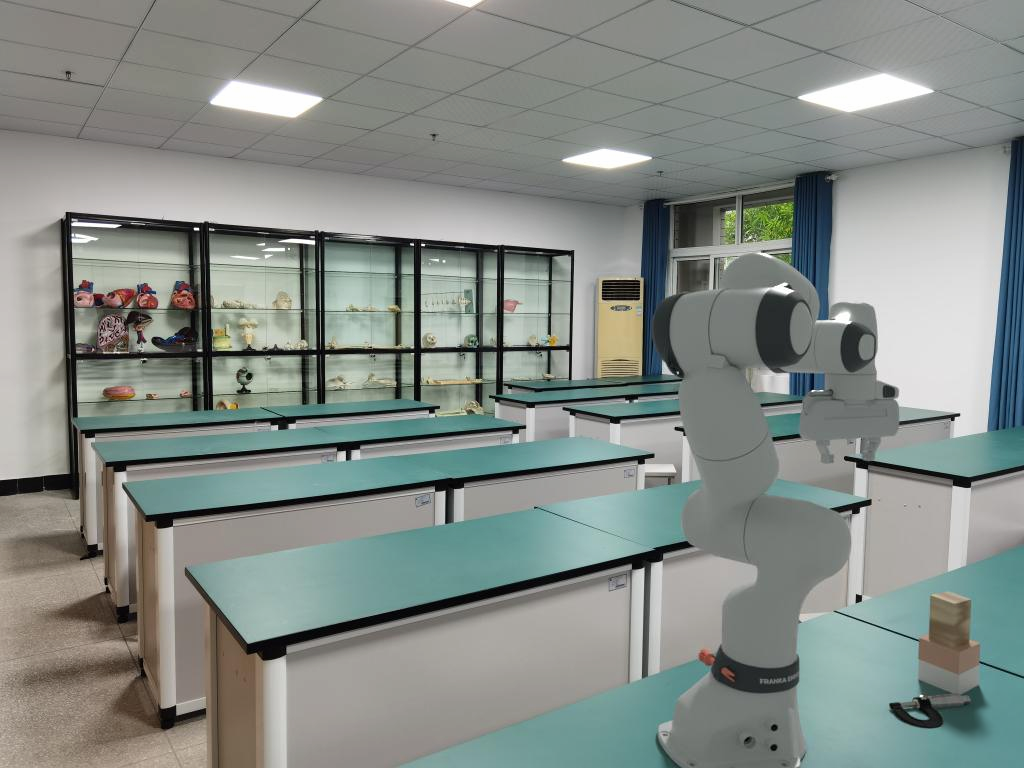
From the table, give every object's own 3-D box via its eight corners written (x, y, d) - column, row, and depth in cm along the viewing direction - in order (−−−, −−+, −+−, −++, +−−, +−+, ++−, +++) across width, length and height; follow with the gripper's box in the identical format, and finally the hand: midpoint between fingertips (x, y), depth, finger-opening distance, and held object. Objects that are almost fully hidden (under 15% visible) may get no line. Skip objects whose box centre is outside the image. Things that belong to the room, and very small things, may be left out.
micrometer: (913, 732, 114) (914, 717, 114) (883, 709, 121) (884, 694, 121) (996, 724, 117) (997, 709, 116) (962, 701, 124) (963, 687, 124)
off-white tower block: (958, 696, 125) (959, 674, 125) (918, 680, 131) (918, 659, 131) (978, 686, 129) (979, 664, 128) (938, 670, 135) (939, 649, 134)
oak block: (952, 647, 126) (954, 603, 126) (928, 637, 130) (930, 594, 130) (969, 642, 128) (971, 599, 127) (945, 633, 132) (947, 591, 131)
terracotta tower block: (958, 674, 125) (959, 652, 124) (918, 658, 131) (919, 637, 130) (979, 664, 128) (980, 643, 128) (939, 649, 134) (939, 629, 134)
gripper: (815, 392, 128) (813, 468, 129) (906, 388, 134) (903, 461, 135) (792, 389, 134) (790, 462, 135) (880, 386, 140) (878, 456, 141)
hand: (847, 461), depth 135 cm, fingers open, 8 cm apart
